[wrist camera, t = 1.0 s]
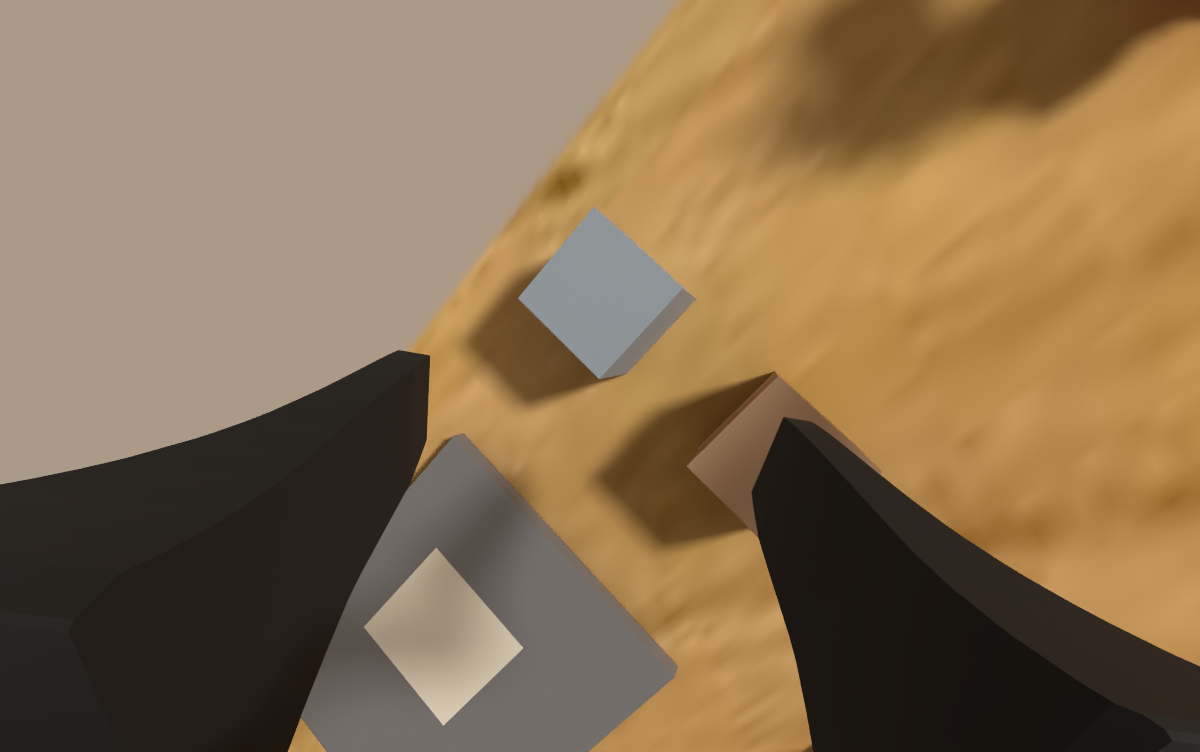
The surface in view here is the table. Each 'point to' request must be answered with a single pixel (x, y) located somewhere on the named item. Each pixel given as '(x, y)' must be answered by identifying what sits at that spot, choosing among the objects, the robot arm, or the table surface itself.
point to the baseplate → (478, 631)
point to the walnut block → (754, 444)
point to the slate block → (605, 297)
